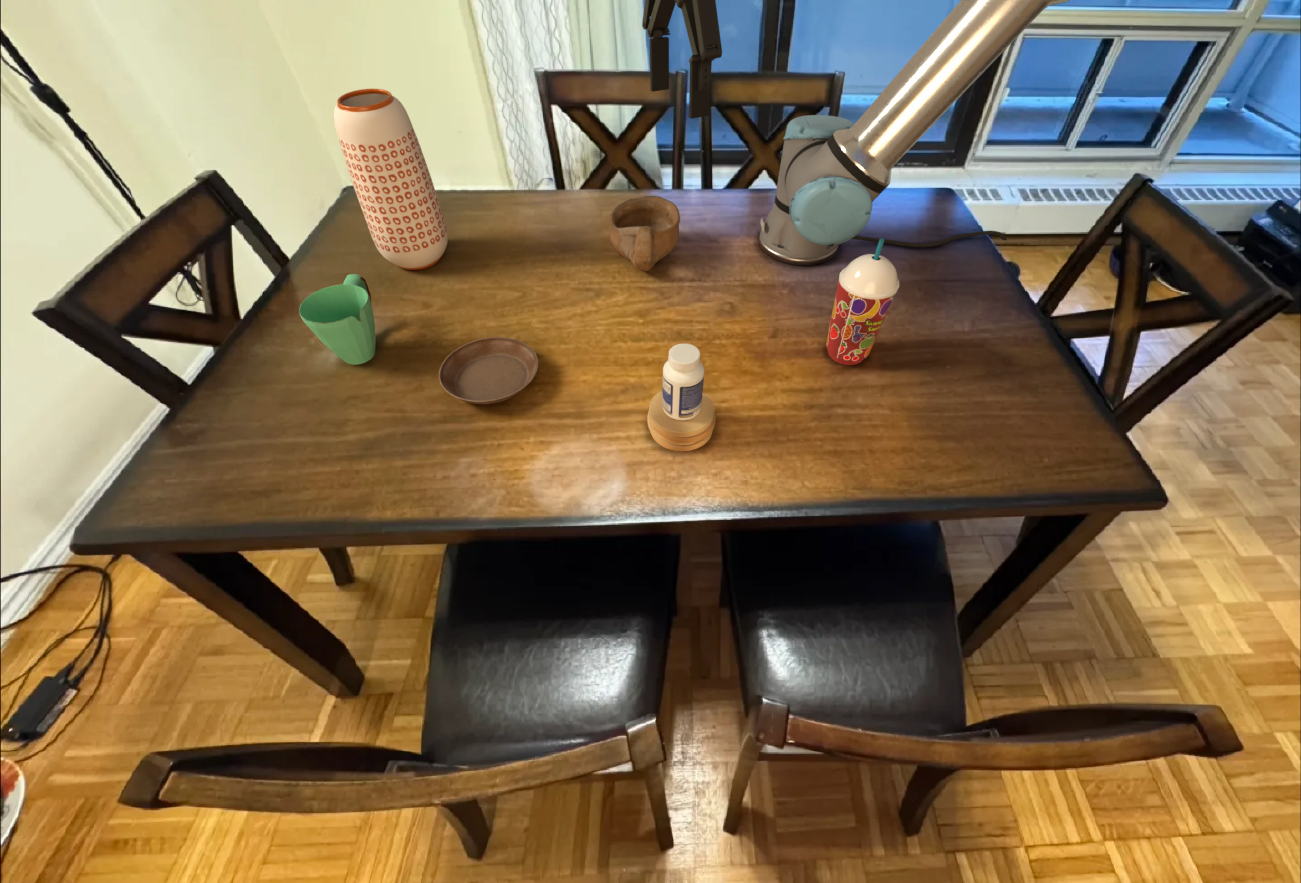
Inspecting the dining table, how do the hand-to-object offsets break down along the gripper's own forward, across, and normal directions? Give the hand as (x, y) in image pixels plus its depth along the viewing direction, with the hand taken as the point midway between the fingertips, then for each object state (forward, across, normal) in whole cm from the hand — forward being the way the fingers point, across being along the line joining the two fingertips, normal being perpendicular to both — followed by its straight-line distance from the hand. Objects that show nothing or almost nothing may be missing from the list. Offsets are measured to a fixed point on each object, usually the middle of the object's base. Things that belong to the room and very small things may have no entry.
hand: (678, 102), depth 84 cm
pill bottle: (+28, -31, +13) cm, 44 cm away
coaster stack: (+32, -31, +13) cm, 47 cm away
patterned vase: (+29, +29, +42) cm, 59 cm away
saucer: (+31, -10, +36) cm, 49 cm away
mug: (+30, +6, +54) cm, 62 cm away
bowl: (+30, +12, +1) cm, 33 cm away
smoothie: (+32, -26, -18) cm, 45 cm away
